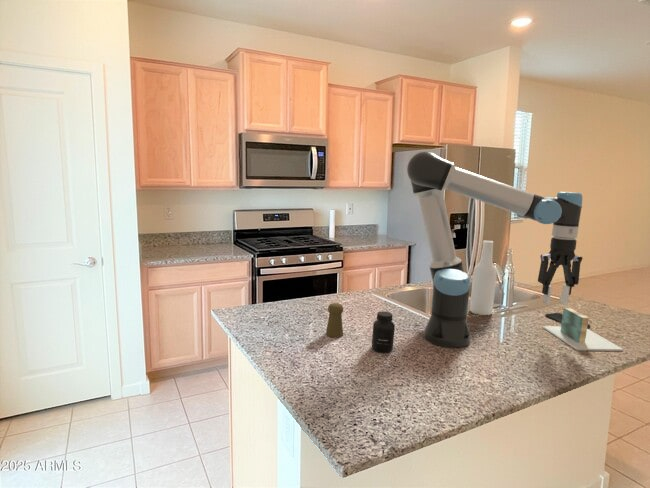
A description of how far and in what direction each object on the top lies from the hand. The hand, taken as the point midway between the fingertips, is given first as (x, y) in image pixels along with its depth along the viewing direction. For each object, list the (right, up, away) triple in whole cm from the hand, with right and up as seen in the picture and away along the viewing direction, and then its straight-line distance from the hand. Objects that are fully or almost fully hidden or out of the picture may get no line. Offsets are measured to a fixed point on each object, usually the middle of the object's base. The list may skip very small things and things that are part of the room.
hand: (555, 303), depth 144 cm
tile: (+7, -12, +2) cm, 15 cm away
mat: (+11, -13, +3) cm, 17 cm away
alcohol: (-16, -8, +27) cm, 32 cm away
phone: (+16, -11, +20) cm, 28 cm away
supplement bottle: (-62, -13, -12) cm, 64 cm away
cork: (-77, -11, -1) cm, 78 cm away
